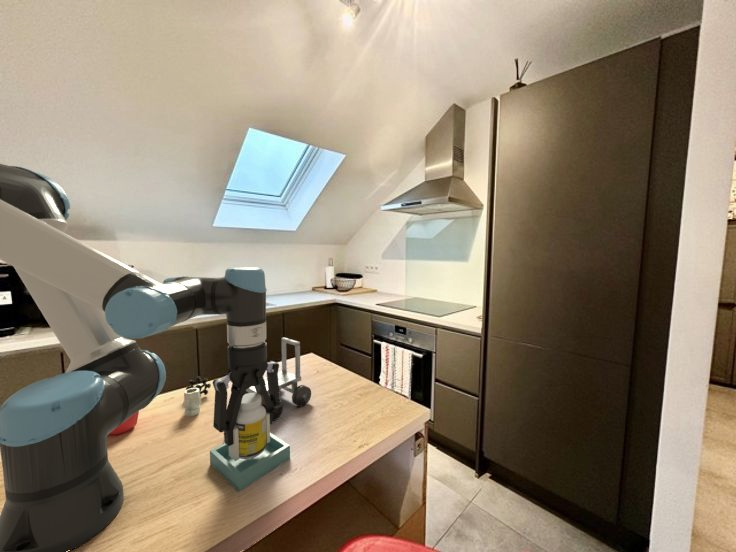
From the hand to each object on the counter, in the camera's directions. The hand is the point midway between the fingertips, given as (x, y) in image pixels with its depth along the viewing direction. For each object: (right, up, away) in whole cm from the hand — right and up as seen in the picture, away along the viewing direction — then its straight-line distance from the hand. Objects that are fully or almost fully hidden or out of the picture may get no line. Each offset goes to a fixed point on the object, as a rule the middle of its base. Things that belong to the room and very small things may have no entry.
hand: (250, 448), depth 64 cm
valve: (-24, -1, +22) cm, 33 cm away
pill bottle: (0, -1, 0) cm, 1 cm away
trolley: (-2, -1, +24) cm, 24 cm away
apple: (-37, -2, +11) cm, 38 cm away
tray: (0, -3, 0) cm, 3 cm away
